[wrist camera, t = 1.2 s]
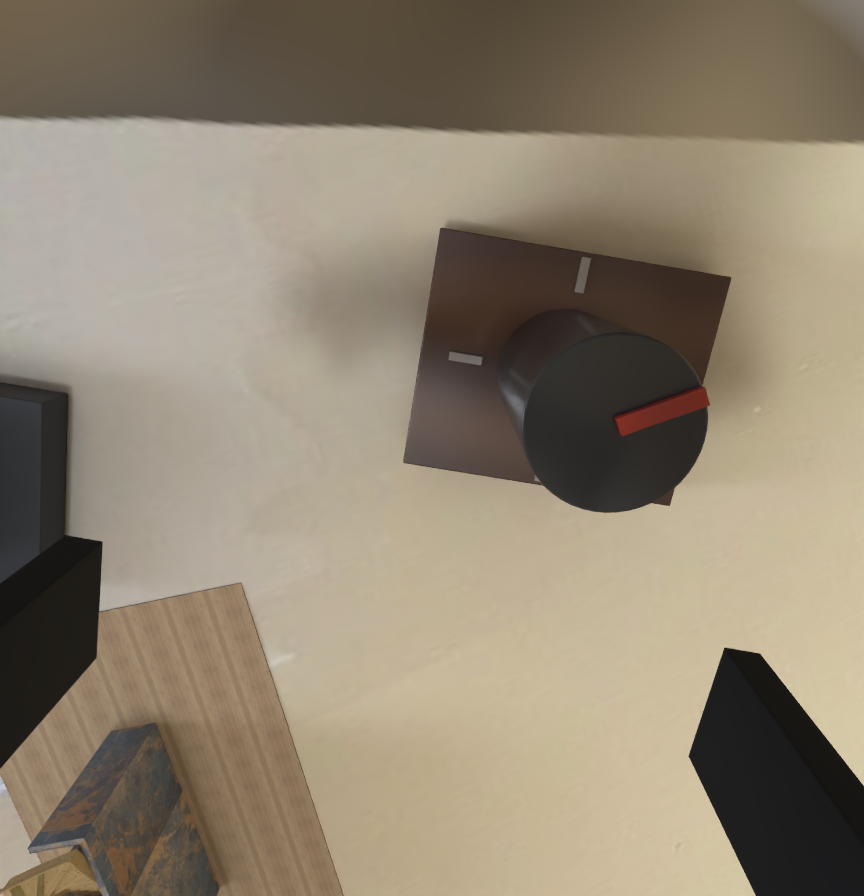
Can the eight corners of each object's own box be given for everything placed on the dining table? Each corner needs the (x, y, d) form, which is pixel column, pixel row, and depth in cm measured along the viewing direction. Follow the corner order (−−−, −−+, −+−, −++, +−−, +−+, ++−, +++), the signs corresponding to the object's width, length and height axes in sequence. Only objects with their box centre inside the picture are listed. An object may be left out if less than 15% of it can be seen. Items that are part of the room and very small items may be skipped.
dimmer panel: (440, 230, 30) (440, 227, 28) (709, 276, 30) (733, 277, 28) (406, 448, 33) (402, 464, 30) (653, 488, 33) (671, 507, 31)
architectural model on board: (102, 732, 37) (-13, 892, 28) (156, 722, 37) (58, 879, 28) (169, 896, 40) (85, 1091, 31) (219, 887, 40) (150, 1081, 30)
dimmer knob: (521, 453, 30) (556, 541, 21) (479, 336, 29) (496, 373, 19) (641, 411, 30) (734, 481, 20) (604, 289, 28) (684, 304, 19)
